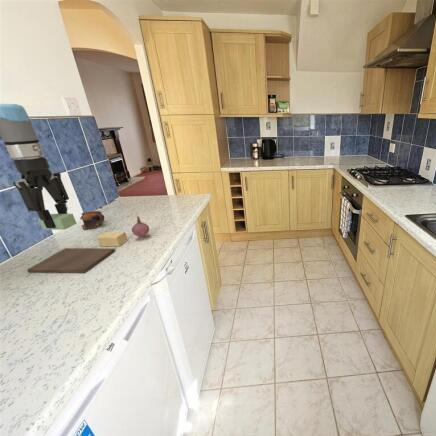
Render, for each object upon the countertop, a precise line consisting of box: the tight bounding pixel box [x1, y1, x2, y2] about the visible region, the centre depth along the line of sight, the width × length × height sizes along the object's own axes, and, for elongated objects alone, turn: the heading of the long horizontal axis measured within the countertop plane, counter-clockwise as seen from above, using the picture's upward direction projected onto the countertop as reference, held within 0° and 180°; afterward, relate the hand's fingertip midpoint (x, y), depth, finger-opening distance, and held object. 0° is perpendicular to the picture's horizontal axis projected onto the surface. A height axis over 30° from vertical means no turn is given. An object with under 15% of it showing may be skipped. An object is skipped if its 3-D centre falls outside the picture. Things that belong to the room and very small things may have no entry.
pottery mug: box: [79, 210, 105, 231], centre depth 115 cm, size 12×10×8 cm
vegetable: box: [131, 215, 150, 238], centre depth 100 cm, size 6×6×10 cm
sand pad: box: [96, 231, 129, 247], centre depth 98 cm, size 8×5×4 cm, turn 87°
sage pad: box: [37, 213, 78, 231], centre depth 86 cm, size 8×5×4 cm, turn 88°
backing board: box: [26, 247, 116, 274], centre depth 87 cm, size 20×14×1 cm
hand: (58, 224), depth 86 cm, fingers closed on sage pad, 5 cm apart
